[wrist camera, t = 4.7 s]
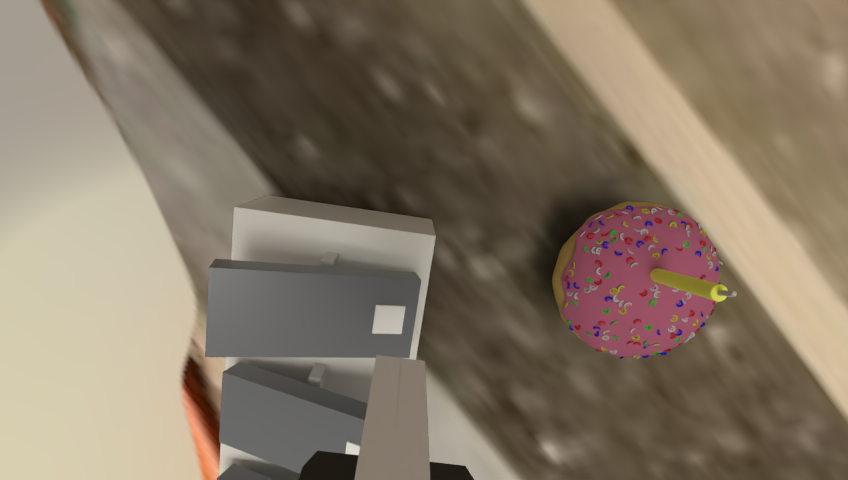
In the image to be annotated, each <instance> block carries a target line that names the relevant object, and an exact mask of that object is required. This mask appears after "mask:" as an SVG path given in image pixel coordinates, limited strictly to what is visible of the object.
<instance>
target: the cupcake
mask: <svg viewBox="0 0 848 480" xmlns="http://www.w3.org/2000/svg"><path fill="white" fill-rule="evenodd" d="M719 265H720V266H722V265H723V264H722V263H721V262H720V261H718V258H717V255H716V248H714V246H713V244H712V243H711V241H710V239H709V238H708V236H707V235H706V232H705V231H704V230H703V229H702V228H701V227H700V224H699V222H698V223H697V222H696V221H694V220H693V219H692V218H691V217H689V216H687V215H685V214H683V213H681V212H679V211H677V210H674V209H672V208H669V207H667V206H663V205H660V204H655V203H648V202H623V203H620V204H618V205H615V206H613V207H611V208H609V209H607V210H604V211H602V212H599V213H596V214H594V215H592V216H591V217H589V218H588V219H587V220H586V221H585V223H584V224H583V225H582V226H581V227H580V228H579V229H578V230H577V231H576V232H575V233H574V234H573V235H572V236H571V237H570V238H569V239H568V240H567V241H566V243H565V244H564V245H563V246H562V248H561V250H560V252H559V256H558V260H557V263H556V266H555V269H554V272H553V277H552V285H553V291H554V295H555V299H556V302H557V305H558V308H559V313H560V316H561V319H562V320H563V321H564V323H565V324H566V325H567V326H568V327H569V329H570V330H572V331H573V333H574V334H575V335H576V336H577V337H579V338H580V339H581V340H582V341H584V342H585V343H586V344H588V345H589V346H591V347H593V348H595V349H597V350H596V351H600V352H606V353H609V354H611V355H615V356H619V357H620V359H621V358H623V357H633V358H637V359H638V358H639V357H641V356H642V357H644V358H647V357H648V356H649V355H656V354H659V353H660V354H661V355H666V354H667V352H668V351H671V348H673V347H675V346H677V345H680V344H681V343H682V342H687V341H688V340H689V339H690V338H692V337H694V336H695V333H696V332H698V331H699V330H700V327H702V326H704V325H705V323H704V322H705V321H706V320H707V319H708V318H709V316H710V315H712V313H713V311H714V309H713V306H714V304H715V303H717V302H720V301H723V300H725V299H726V298H727V297H735V296H736V295H737V293H736V292H735V291H732V292H730V291H728V290H727V288H726V287H725V286H723V285H721V284H720V283H719ZM702 324H703V325H702ZM691 335H692V336H691ZM661 352H662V353H661ZM664 352H665V353H664ZM663 353H664V354H663Z"/></svg>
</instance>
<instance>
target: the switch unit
mask: <svg viewBox="0 0 848 480" xmlns="http://www.w3.org/2000/svg"><path fill="white" fill-rule="evenodd" d="M435 238H436V235H435V230H434V226H433V222H432V219H427V218H420V217H413V216H407V215H400V214H393V213H386V212H379V211H373V210H366V209H359V208H352V207H345V206H339V205H332V204H325V203H318V202H311V201H305V200H298V199H291V198H284V197H277V196H270V195H268V196H265V197H262V198H259V199H256V200H253V201H250V202H247V203H244V204H241V205H238V206H235V207H234V219H233V237H232V255H231V259H230V260H239V261H254V262H270V263H285V264H300V265H315V266H330V267H345V268H360V269H375V270H390V271H405V272H416V274H417V275H418V276H419V278H420V279H421V287H420V293H419V299H418V306H417V312H416V318H415V325H414V331H413V337H412V344H411V350H410V356H409V358H405V359H413V360H416V355H417V349H418V343H419V337H420V331H421V325H422V318H423V312H424V306H425V300H426V294H427V288H428V281H429V275H430V269H431V263H432V257H433V251H434V244H435ZM375 360H376V358H316V357H226V361H225V370H227V369H229V368H230V367H232V366H233V365H235V364H237V363H238V362H243V363H246V364H249V365H252V366H255V367H258V368H261V369H264V370H267V371H270V372H273V373H276V374H279V375H282V376H285V377H289V378H292V379H295V380H298V381H301V382H304V383H307V384H310V385H313V386H316V387H319V388H322V389H325V390H328V391H331V392H334V393H337V394H340V395H343V396H347V397H350V398H353V399H356V400H359V401H362V402H365V403H368V400H369V394H370V388H371V383H372V377H373V372H374V366H375ZM233 463H234V464H237V465H239V466H242V467H244V468H246V469H249V470H251V471H254V472H256V473H259V474H261V475H264V476H266V477H269V478H271V479H274V480H298V479H299V476H300V474H299V473H297V472H294V471H292V470H289V469H286V468H284V467H281V466H279V465H276V464H274V463H271V462H269V461H266V460H263V459H261V458H258V457H256V456H253V455H251V454H248V453H246V452H243V451H240V450H238V449H235V448H233V447H230V446H228V445H225V444H222V443H221V450H220V463H219V473H218V477H219V476H220V475H221V474H222V473H223V472H224V471H225V470H226V469H228V468H229V467H230V466H231V465H232V464H233Z"/></svg>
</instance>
